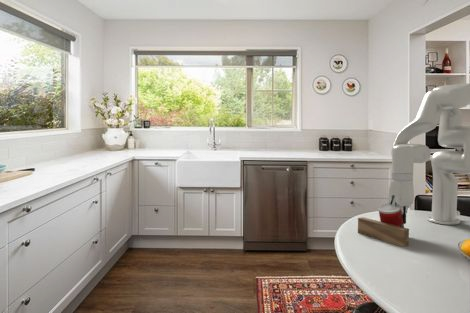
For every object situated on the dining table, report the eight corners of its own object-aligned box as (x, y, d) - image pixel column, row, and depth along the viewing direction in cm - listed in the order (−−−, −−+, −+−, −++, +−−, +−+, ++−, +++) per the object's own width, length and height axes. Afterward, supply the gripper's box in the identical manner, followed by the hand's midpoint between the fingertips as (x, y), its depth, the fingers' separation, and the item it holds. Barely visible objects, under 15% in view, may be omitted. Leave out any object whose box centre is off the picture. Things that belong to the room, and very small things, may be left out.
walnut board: (362, 231, 146) (363, 217, 146) (408, 245, 129) (409, 228, 129) (357, 232, 145) (358, 218, 144) (403, 246, 128) (403, 230, 127)
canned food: (407, 236, 136) (403, 210, 133) (384, 239, 138) (380, 213, 135) (402, 226, 143) (398, 201, 140) (381, 229, 145) (376, 204, 142)
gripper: (405, 174, 148) (403, 218, 149) (381, 177, 140) (380, 224, 142) (422, 176, 141) (421, 222, 143) (398, 180, 134) (397, 228, 135)
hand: (401, 223), depth 142 cm, fingers closed
